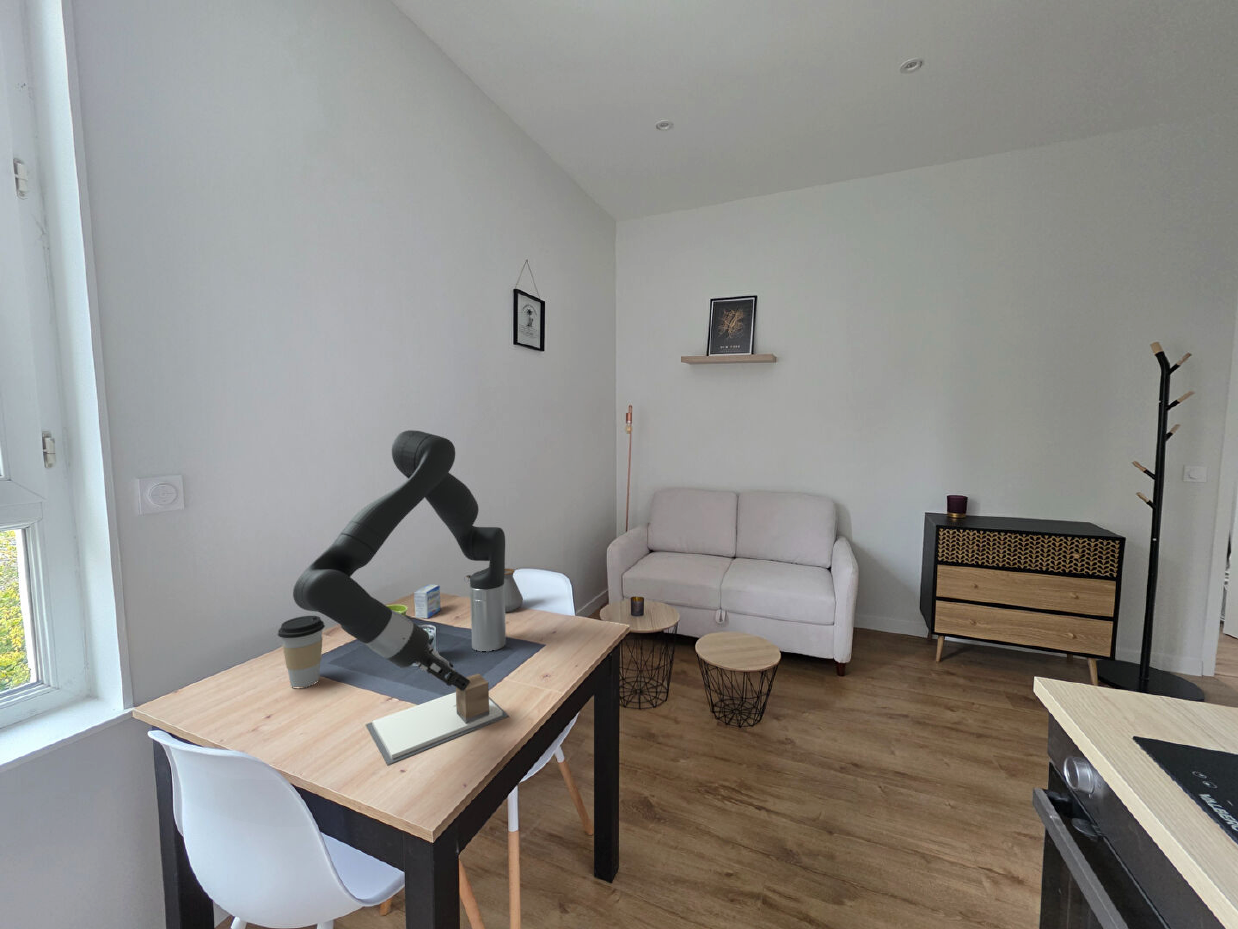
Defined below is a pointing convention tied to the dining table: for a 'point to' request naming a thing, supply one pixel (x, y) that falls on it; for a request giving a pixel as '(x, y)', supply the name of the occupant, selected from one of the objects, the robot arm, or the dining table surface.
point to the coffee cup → (302, 649)
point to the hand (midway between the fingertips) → (458, 677)
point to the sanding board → (425, 727)
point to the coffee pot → (510, 591)
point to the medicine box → (427, 601)
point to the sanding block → (473, 699)
